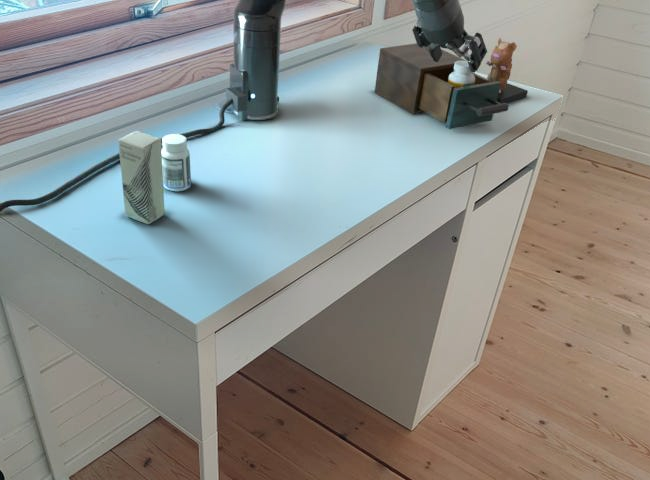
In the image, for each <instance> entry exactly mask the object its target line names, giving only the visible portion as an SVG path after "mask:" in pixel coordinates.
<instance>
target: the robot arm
mask: <svg viewBox="0 0 650 480" xmlns="http://www.w3.org/2000/svg"><path fill="white" fill-rule="evenodd" d="M286 1H287V0H238V2H237V4H236V6H235V7H234V10H233V63H230V64H229V87H228V88H226V93H225V94H226V102H225V103H224V104H223V105H222V106H221V108H220V110H219V114H218V115H219V121H218V123H217V124H216V125H215V126H213V127H209V128H199V129H194V130H191V131H188V132H187V131H186V132H183V133H179V135H183V136H185V137H186V139H187V138H191V137H195V136H199V135H207V134H210V133H213V132H216V131H219V130H220V129H221V128H222V127H223V126H224V124H225V111H226V110H227V109H228V108H229V111H230V112H231V113H233V114H234V115H235V116H236V117H237V118H239V119H240V120H242V121H247V120H248V121H265V120H270V119H272V118H275V117H276V116H277V115H278V114H279V108H278V105H279V104H280V96H279V80H280V79H279V77H280V55H281V53H280V52H281V30H282V26H281V25H282V17H283V14H284V11H285V8H286ZM411 1H412V3H413V9H414V12H415V15H416V19H417V21H416V22H415V24H414V26H413V28H412V30H411V31H412V33H413V36H414V40H415V42H416V43H417V45H418V46H419V47H421V48H422V47H423V46H425V47H426V50H427V51H429V52H430V55H431V57H432V58H433V60H434V61H435V62H438V61H439V59H440V58H441V56H442V50H443V49H447V50H449V51H452V52H453V53H454V55H455V56H457V57H459V58H463V59H464V60H466V61H468V64H469V68H470V71H471V72H473V73H475V74H476V72H478V70H479V68H480V67H481V65H482V62H483V60H484V58H485V57H486V55H487V53H488V49H487V46H486V44H485V40H484V38H483V35H482V34H481V33H480V32H475V34H474V35H471V34H470V35H469V33H468V32H467V31H466V30H465V17H464V13H463V10H462V6H461V3H460V0H411ZM462 46H463V47H462ZM461 47H462V49H460V48H461ZM441 49H442V50H441ZM469 51H471V53H470V54H469V53H468V52H469ZM160 139H161V145H163V143H162V139H163V137H161V138H160ZM118 160H120V152H118V153H116V154H114V155H111V156H109V157H108V158H106V159H104V160H102V161H100V162H98V163H96V164H95V165H93V166H91V167H90V168H88V169H86V170H85V171H83V172H82V173H80V174H78V175H77V176H75V177H74V178H71V179H70V180H68V181H67V182H65V183H64V184H62V185H61V186H59V187H57V188H55V189H54V190H53V191H50V192H49V193H47V194H45V195H42V196H40V197H37V198H31V199H9V200H6V201H3V202H1V203H0V213H1V212H2V211H4V210H5V209H7V208H9V207H21V206H24V207H25V206H26V207H27V206H37V205H41V204H44V203H47V202H49V201H51V200H53V199H54V198H56V197H58V196H59V195H61V194H62V193H64V192H66V191H67V190H68V189H70V188H72V187H73V186H76V185H77V184H78V183H80V182H81V181H83V180H85V179H86V178H88V177H89V176H91V175H93V174H94V173H96V172H98V171H99V170H101V169H103V168H105V167H107V166H109V165H110V164H112V163H114V162H116V161H118ZM31 396H32V394H30V395H29V397H31Z"/></svg>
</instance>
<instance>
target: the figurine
mask: <svg viewBox="0 0 650 480" xmlns="http://www.w3.org/2000/svg"><path fill="white" fill-rule="evenodd" d="M516 50H517V44H516V42H514V41H512V42H509V41H502V38H501V37H499V39H498V41H497V45H495V46H494V48H493V50H492V51H491V55H490V60H487V61H486V63H485V65H487V66H489V67H491V69H490V72H489V73H488V74H487V77H486V79H488V80H490V82H495V81H498V82H500V83H501V85H500V89H499V93H498V97H497V102H499V103H501V104H502V103H507V104H508V105H509V104H510V103H513V102H516V101H519V100H522V99H525V98H527V95H528V92H529V90H527V89H525V88H522V87H518V86H516V85H514V84H511V83H508V80H510V77H511V71H512V69H513V63H512V62H513V54H514V52H515V51H516Z"/></svg>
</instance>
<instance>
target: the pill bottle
mask: <svg viewBox="0 0 650 480" xmlns="http://www.w3.org/2000/svg"><path fill="white" fill-rule="evenodd" d="M179 134H180V133H179ZM179 134H178V133H170V134H167V135H164V136H163V137H162V138H163V139H162V148H161V150H162V171H163V188H165V189H166V190H168V191H171V192H183V191H186V190H188V189H189V188H190V187H191V186H192V185H191V184H192V179H191V178H192V175H191V173H192V172H191V156H190V155H191V154H190V150H189V148H188V140H187V138H186V137H185V136H183V135H179Z"/></svg>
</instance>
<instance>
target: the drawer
mask: <svg viewBox="0 0 650 480" xmlns="http://www.w3.org/2000/svg"><path fill="white" fill-rule="evenodd" d="M452 72H454V67H452V68H445V69H439V70H433V71H426V72H423V76H422V82H421V88H420V93H419V99H418V105H417V108H419V109H421V110H423V111H424V112H425V113H426V114H428V115H430V116H432V117H433V118H435V119H437V120H439V121H440V122H441V123H444V124H445V128H446V129H448V130H452V129H458V128H461V127H467V126H472V125H477V124H482V123H487V122H492V121H493V117H494V115H495V114H499V113H504V112H507V111H509V103H508V104H507V103H502V104H501V103H499V102H497V97H498V93H499V89H500V85H501V83H500V82H498V81H495V82H490V80H488V79H487V77H486V78H485V77H483V76H482V75H479V74H477V73H476V72H475V73H474V72H473V73H472V74H473V75H474V76H475V83H474V85H471V86H466V87H460V88H455V86H453V85H451V84H449V83H448V78H449V75H450V74H451V73H452Z"/></svg>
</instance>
